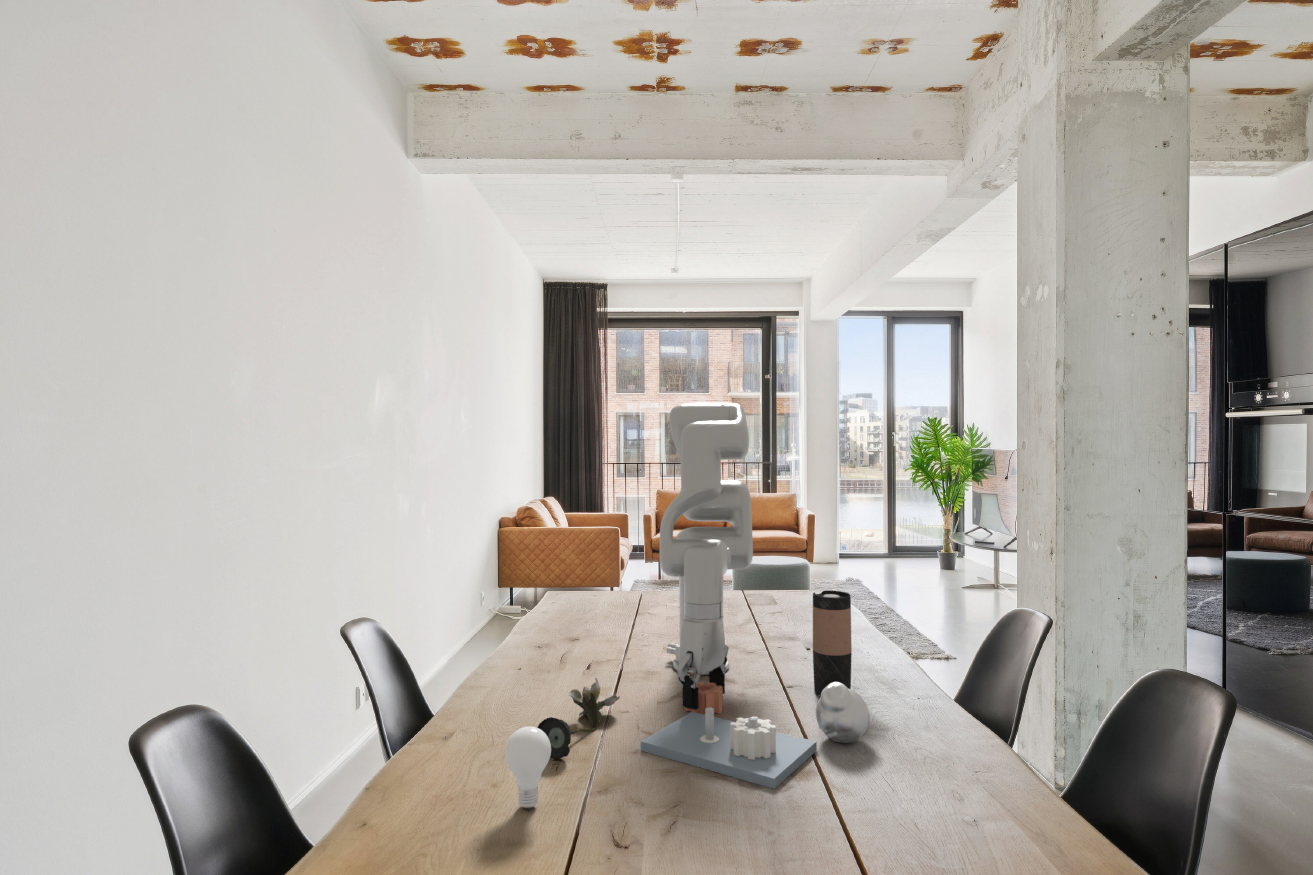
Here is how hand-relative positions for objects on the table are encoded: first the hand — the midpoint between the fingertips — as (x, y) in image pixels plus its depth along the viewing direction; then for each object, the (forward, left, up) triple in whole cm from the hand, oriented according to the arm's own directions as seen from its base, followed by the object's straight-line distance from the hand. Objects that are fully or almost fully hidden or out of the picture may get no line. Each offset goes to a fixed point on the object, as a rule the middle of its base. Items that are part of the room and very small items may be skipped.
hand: (704, 700), depth 138 cm
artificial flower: (-13, -22, -2) cm, 25 cm away
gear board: (+13, -14, -2) cm, 19 cm away
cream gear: (+18, -15, 0) cm, 23 cm away
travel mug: (+17, +22, -2) cm, 28 cm away
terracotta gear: (0, 0, -2) cm, 2 cm away
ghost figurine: (+27, 0, -2) cm, 27 cm away
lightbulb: (-1, -46, -2) cm, 46 cm away
